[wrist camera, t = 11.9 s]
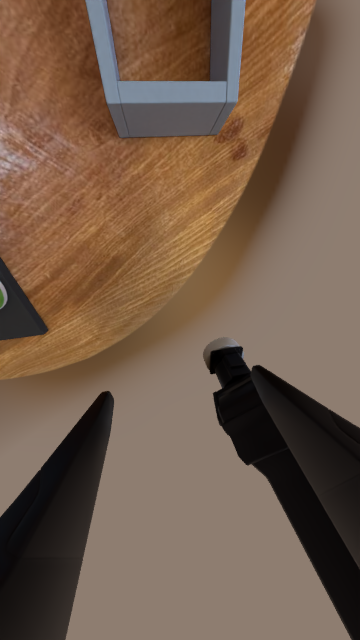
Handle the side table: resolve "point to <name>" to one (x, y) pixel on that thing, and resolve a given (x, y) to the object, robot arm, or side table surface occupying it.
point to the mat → (17, 311)
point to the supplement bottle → (2, 296)
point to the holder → (173, 96)
